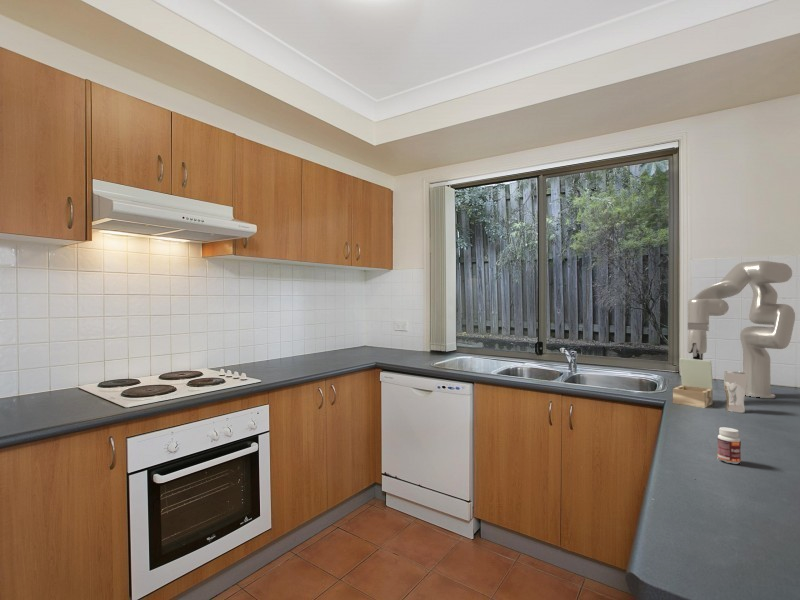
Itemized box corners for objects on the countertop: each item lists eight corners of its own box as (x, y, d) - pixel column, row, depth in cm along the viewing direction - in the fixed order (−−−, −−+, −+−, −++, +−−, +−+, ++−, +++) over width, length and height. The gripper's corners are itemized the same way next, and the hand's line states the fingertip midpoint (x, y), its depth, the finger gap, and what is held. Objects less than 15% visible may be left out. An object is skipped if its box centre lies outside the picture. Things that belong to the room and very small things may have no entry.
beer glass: (726, 411, 161) (725, 372, 161) (722, 408, 167) (722, 370, 167) (749, 414, 157) (748, 374, 158) (744, 410, 164) (744, 371, 164)
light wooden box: (681, 399, 183) (681, 385, 183) (712, 403, 174) (712, 389, 175) (672, 403, 175) (672, 388, 175) (704, 408, 167) (704, 392, 167)
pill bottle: (735, 466, 106) (734, 433, 106) (713, 460, 110) (713, 428, 110) (744, 463, 108) (744, 430, 108) (723, 457, 112) (723, 425, 112)
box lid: (681, 384, 183) (683, 383, 184) (712, 388, 175) (713, 387, 176) (679, 358, 181) (680, 357, 182) (710, 361, 173) (711, 360, 174)
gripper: (693, 326, 188) (692, 367, 188) (682, 327, 179) (682, 370, 178) (713, 327, 183) (713, 369, 182) (703, 328, 173) (703, 372, 173)
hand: (697, 369), depth 180 cm, fingers closed
